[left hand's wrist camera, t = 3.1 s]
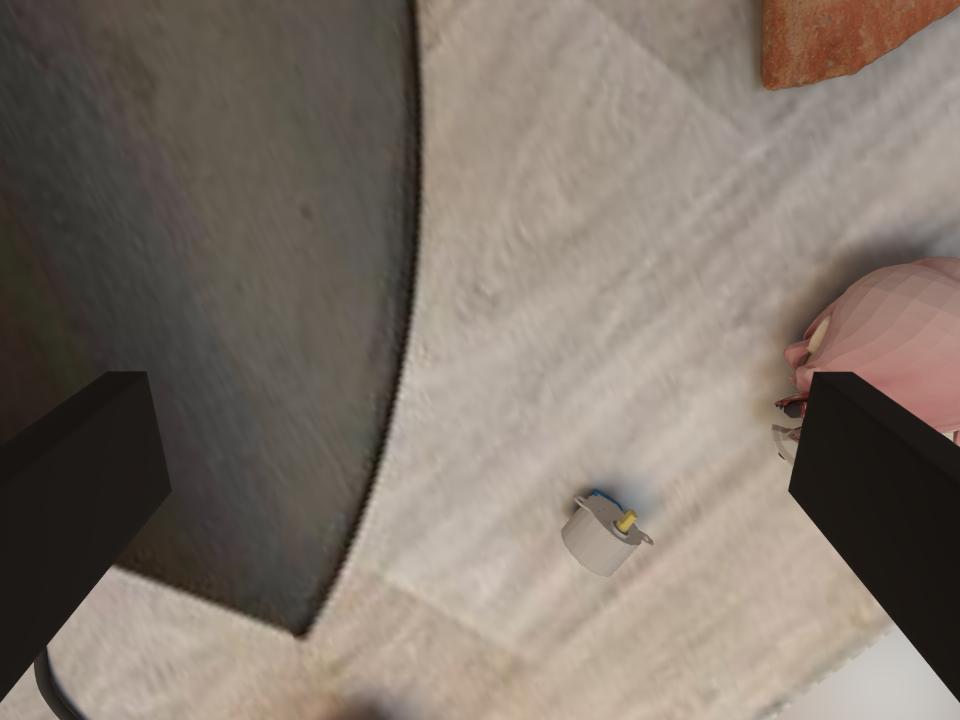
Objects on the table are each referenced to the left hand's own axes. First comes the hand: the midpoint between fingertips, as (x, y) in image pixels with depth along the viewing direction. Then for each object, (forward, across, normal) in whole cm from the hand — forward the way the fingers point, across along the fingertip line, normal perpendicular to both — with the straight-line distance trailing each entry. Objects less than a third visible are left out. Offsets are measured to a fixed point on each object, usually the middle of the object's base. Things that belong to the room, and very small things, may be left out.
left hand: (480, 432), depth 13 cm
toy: (+28, +25, -9) cm, 38 cm away
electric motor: (+28, +9, -21) cm, 36 cm away
